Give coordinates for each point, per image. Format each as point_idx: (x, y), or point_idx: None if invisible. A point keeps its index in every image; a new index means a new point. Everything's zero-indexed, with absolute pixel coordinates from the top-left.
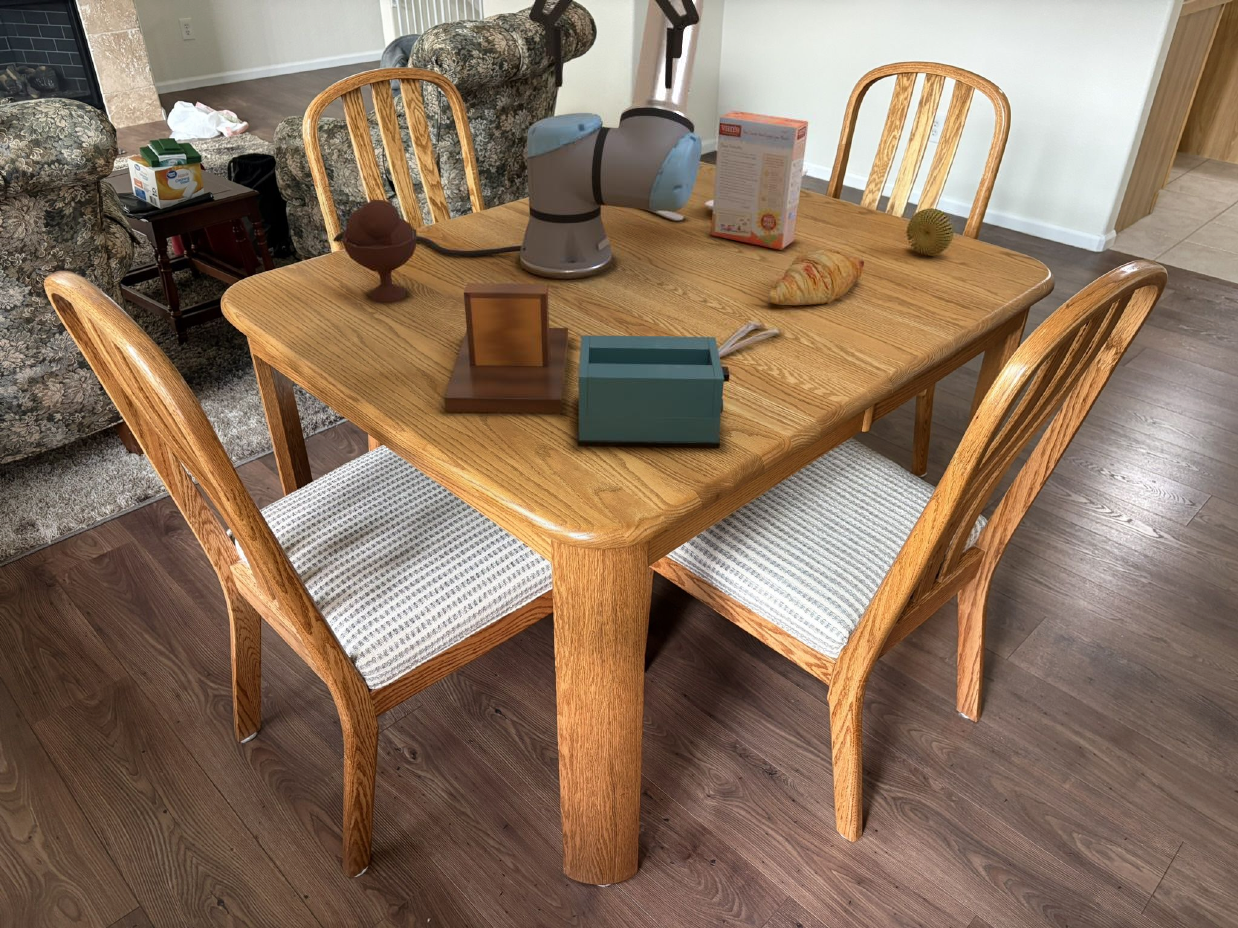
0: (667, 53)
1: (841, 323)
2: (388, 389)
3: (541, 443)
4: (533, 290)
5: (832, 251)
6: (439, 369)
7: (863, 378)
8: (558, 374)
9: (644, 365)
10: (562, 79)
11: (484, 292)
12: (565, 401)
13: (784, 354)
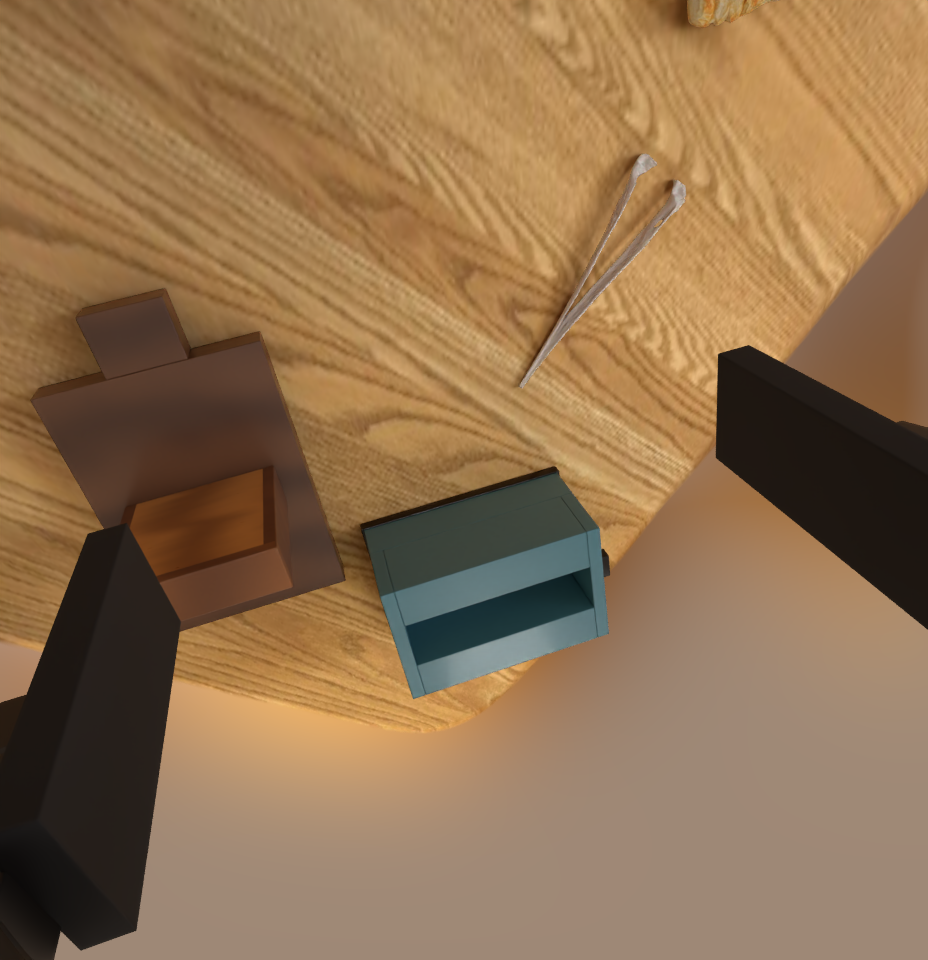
0: (837, 553)
1: (815, 75)
2: (24, 598)
3: (342, 632)
4: (261, 585)
5: None
6: (65, 514)
7: (787, 321)
8: (314, 518)
9: (499, 643)
10: (131, 550)
11: None
12: (337, 534)
13: (679, 266)
